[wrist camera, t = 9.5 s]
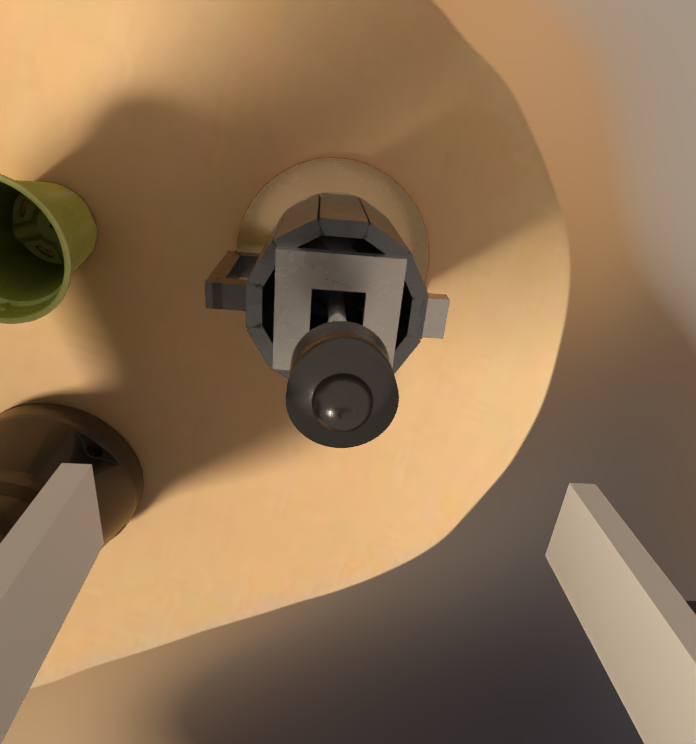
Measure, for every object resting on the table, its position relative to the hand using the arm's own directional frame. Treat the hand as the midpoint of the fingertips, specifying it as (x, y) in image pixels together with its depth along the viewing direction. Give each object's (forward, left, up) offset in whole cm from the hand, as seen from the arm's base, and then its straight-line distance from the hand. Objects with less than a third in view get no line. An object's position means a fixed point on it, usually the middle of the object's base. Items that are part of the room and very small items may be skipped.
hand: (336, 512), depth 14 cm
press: (0, 0, -29) cm, 29 cm away
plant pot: (-21, +1, -29) cm, 36 cm away
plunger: (0, 0, -26) cm, 26 cm away
